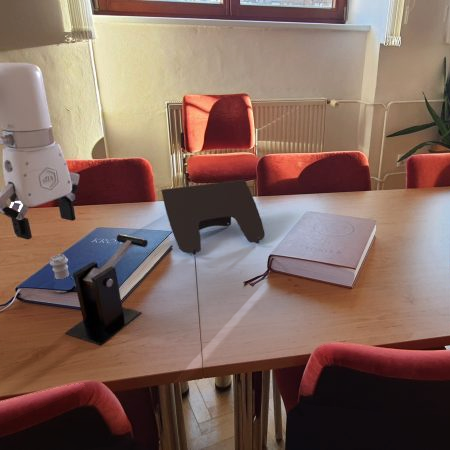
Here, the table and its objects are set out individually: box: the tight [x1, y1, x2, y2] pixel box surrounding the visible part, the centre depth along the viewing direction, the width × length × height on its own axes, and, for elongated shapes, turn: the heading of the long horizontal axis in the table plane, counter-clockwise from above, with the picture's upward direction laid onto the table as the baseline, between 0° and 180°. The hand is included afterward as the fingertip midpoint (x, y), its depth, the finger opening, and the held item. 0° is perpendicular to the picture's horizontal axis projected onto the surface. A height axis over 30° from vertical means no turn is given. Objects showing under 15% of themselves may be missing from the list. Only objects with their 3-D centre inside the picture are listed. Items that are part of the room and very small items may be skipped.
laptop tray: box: [160, 179, 266, 258], centre depth 115 cm, size 23×23×9 cm
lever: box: [83, 233, 149, 290], centre depth 79 cm, size 12×6×2 cm, turn 159°
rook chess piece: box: [49, 253, 70, 294], centre depth 88 cm, size 4×4×8 cm
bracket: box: [64, 261, 143, 347], centre depth 77 cm, size 10×8×12 cm
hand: (47, 228), depth 84 cm, fingers open, 9 cm apart
